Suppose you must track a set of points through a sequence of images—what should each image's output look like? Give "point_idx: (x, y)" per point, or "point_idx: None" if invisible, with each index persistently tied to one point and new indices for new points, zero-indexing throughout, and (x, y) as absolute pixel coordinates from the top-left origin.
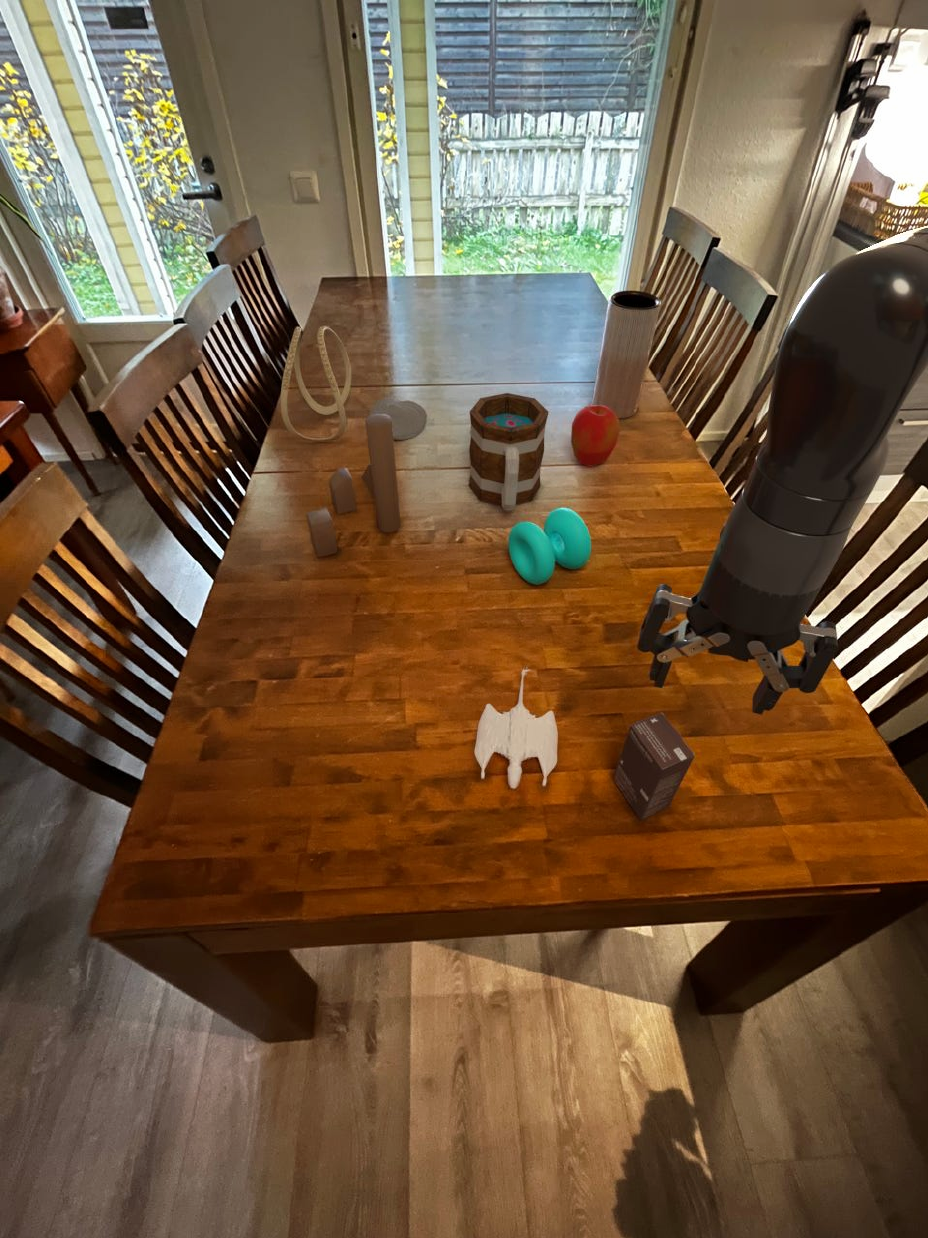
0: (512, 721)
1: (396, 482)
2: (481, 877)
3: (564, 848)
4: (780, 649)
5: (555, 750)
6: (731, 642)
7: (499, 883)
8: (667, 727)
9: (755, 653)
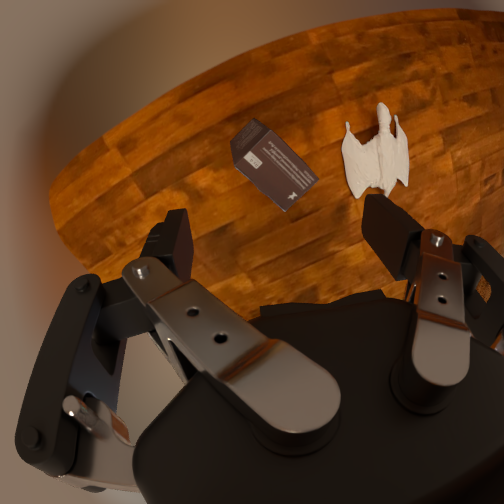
0: (394, 170)
1: (471, 334)
2: (370, 32)
3: (314, 69)
4: (177, 398)
5: (346, 159)
6: (361, 354)
7: (356, 29)
8: (275, 192)
9: (277, 357)
